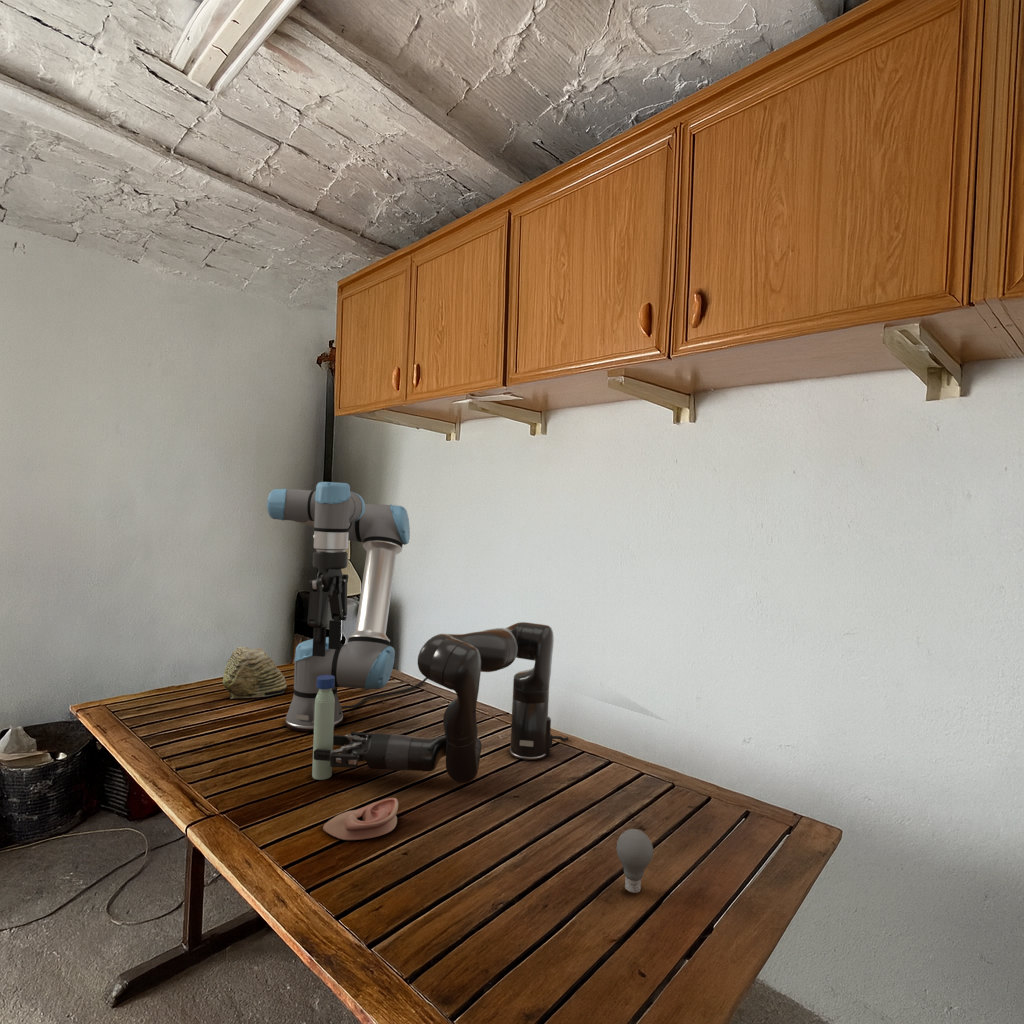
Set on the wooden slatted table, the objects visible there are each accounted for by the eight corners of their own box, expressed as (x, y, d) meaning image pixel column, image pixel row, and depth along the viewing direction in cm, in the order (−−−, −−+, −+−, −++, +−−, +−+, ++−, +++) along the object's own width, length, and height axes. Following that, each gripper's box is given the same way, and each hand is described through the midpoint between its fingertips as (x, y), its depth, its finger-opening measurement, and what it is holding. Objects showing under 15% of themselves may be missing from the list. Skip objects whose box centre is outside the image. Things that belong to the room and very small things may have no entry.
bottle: (307, 776, 143) (311, 679, 143) (322, 770, 147) (326, 675, 146) (321, 781, 141) (325, 682, 140) (335, 774, 145) (339, 678, 144)
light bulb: (610, 879, 108) (613, 822, 108) (644, 879, 109) (647, 822, 109) (619, 902, 102) (622, 840, 102) (655, 901, 103) (658, 840, 103)
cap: (312, 687, 143) (312, 677, 143) (325, 683, 146) (326, 673, 146) (325, 690, 141) (325, 680, 141) (338, 686, 144) (338, 676, 144)
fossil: (218, 695, 195) (220, 647, 195) (278, 685, 208) (279, 640, 207) (228, 703, 189) (230, 653, 188) (289, 692, 201) (290, 645, 201)
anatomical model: (315, 814, 118) (343, 787, 129) (314, 835, 118) (343, 807, 129) (382, 825, 115) (405, 796, 127) (381, 846, 116) (404, 816, 127)
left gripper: (336, 546, 153) (332, 641, 153) (291, 552, 134) (287, 660, 135) (365, 548, 151) (361, 644, 152) (324, 554, 133) (319, 664, 133)
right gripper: (400, 724, 149) (333, 719, 151) (383, 747, 135) (309, 742, 136) (399, 755, 149) (332, 750, 151) (382, 782, 135) (308, 776, 136)
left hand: (326, 652), depth 143 cm, fingers open, 6 cm apart
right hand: (321, 746), depth 143 cm, fingers open, 8 cm apart
